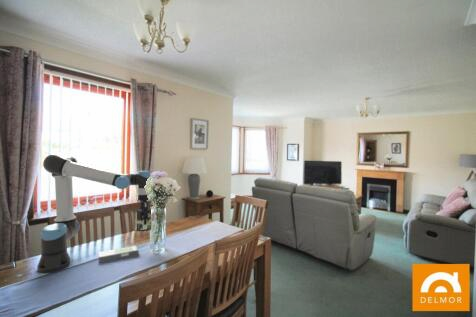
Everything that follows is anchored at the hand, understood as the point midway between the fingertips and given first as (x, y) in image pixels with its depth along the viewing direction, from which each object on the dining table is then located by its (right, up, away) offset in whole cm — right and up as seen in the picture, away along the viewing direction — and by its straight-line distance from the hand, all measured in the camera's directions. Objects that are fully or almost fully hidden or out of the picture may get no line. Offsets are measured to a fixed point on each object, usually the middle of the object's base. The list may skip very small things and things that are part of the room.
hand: (143, 226), depth 160 cm
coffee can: (0, -2, 0) cm, 3 cm away
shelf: (-13, -16, -7) cm, 22 cm away
